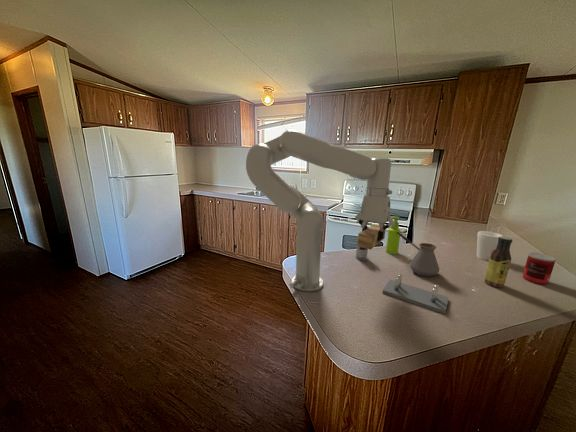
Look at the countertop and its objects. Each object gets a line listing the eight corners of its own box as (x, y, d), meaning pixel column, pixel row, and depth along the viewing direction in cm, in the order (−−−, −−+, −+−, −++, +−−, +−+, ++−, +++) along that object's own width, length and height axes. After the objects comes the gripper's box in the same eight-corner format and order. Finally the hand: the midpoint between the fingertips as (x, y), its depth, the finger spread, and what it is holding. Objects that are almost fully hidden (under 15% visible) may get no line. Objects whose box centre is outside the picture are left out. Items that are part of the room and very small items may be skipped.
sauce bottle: (499, 289, 91) (511, 242, 86) (480, 282, 96) (491, 236, 91) (507, 285, 94) (519, 239, 89) (488, 278, 99) (499, 234, 94)
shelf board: (370, 249, 83) (372, 236, 82) (357, 246, 86) (358, 233, 85) (384, 238, 96) (385, 226, 94) (372, 235, 99) (373, 224, 97)
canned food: (540, 277, 101) (547, 253, 98) (553, 286, 93) (561, 261, 91) (517, 274, 103) (524, 251, 100) (529, 283, 96) (536, 258, 93)
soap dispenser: (382, 250, 128) (386, 215, 124) (394, 250, 129) (398, 215, 124) (387, 254, 123) (391, 218, 118) (399, 254, 123) (404, 218, 118)
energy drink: (367, 260, 116) (369, 237, 113) (356, 259, 117) (358, 236, 114) (366, 256, 121) (368, 234, 118) (355, 255, 122) (357, 233, 119)
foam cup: (498, 263, 114) (504, 238, 111) (474, 259, 118) (480, 234, 115) (493, 256, 122) (499, 232, 119) (471, 252, 126) (476, 230, 123)
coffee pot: (443, 274, 102) (449, 242, 99) (429, 281, 97) (435, 247, 93) (399, 257, 120) (403, 229, 116) (384, 262, 114) (388, 233, 110)
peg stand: (445, 314, 76) (448, 298, 75) (382, 292, 88) (384, 278, 87) (447, 299, 84) (450, 285, 83) (389, 282, 96) (391, 268, 94)
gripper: (404, 193, 84) (397, 240, 88) (358, 189, 94) (354, 231, 99) (399, 196, 78) (392, 246, 83) (351, 191, 88) (347, 236, 93)
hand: (372, 238), depth 91 cm, fingers closed on shelf board, 5 cm apart
